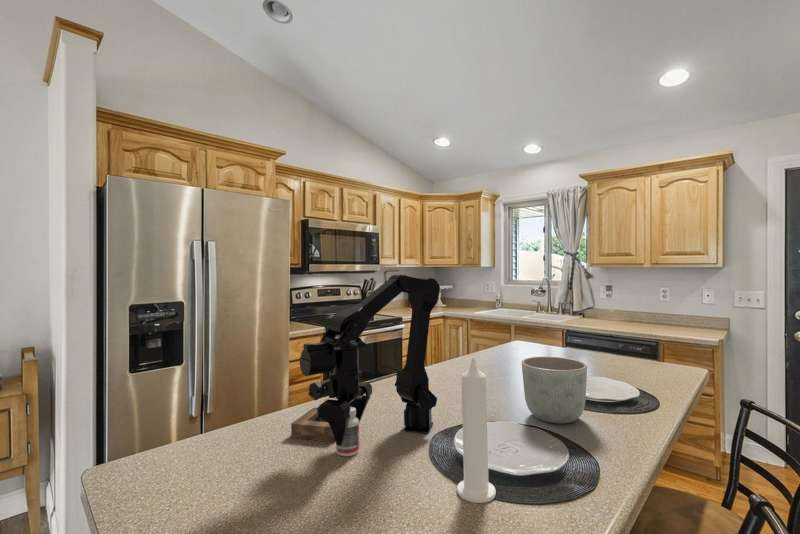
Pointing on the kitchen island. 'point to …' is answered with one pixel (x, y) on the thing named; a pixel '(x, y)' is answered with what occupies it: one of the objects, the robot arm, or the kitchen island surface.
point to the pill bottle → (350, 436)
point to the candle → (475, 438)
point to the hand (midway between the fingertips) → (347, 436)
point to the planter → (555, 388)
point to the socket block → (312, 427)
